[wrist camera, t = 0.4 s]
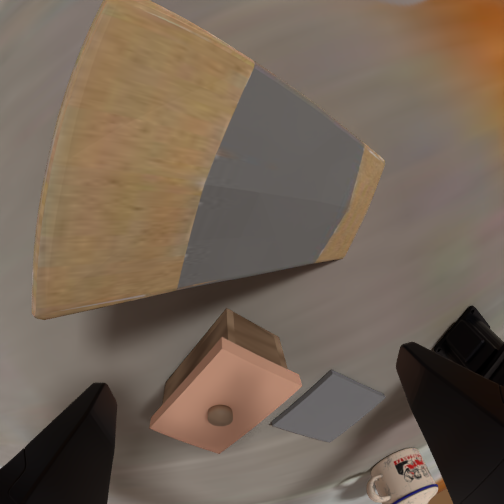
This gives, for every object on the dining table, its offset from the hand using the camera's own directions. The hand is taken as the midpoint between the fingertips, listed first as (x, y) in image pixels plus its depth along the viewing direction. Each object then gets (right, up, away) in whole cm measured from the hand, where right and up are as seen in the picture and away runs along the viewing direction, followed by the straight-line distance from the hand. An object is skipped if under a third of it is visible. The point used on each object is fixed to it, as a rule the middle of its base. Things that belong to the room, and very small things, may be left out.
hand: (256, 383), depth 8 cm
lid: (-3, -7, +13) cm, 16 cm away
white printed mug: (+22, -30, +30) cm, 48 cm away
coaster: (+8, -13, +22) cm, 27 cm away
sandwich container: (+1, +9, +12) cm, 15 cm away
